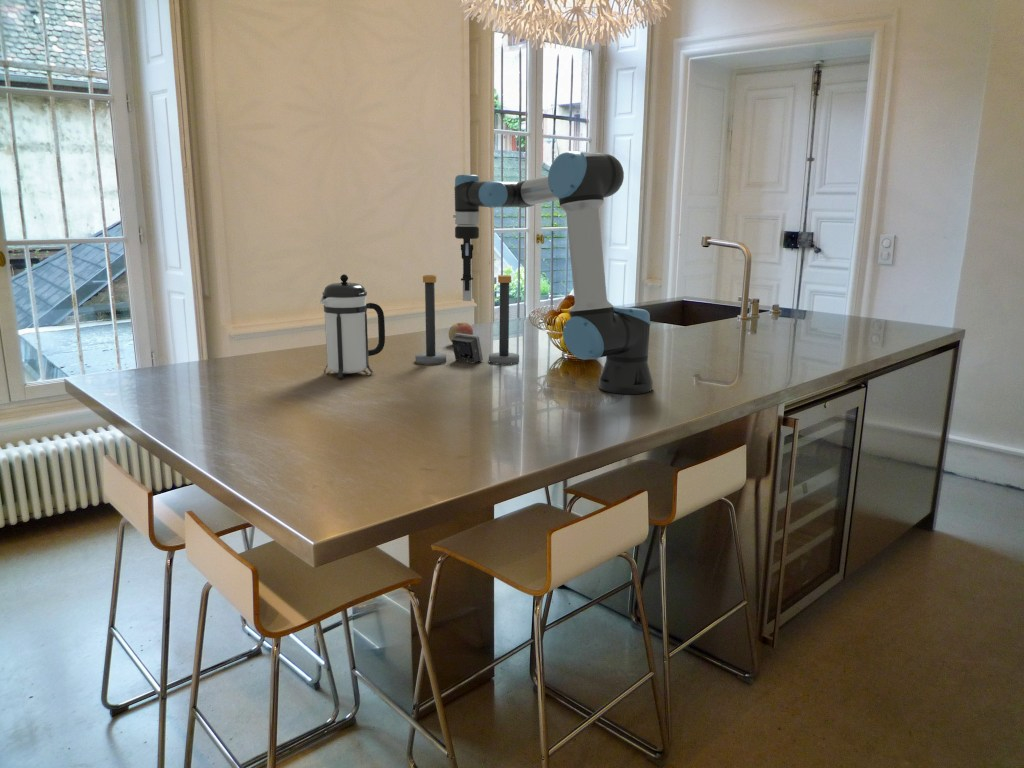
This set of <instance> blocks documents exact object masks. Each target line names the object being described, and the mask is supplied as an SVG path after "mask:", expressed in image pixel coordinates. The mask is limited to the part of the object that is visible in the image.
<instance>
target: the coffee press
mask: <svg viewBox="0 0 1024 768" xmlns="http://www.w3.org/2000/svg"><path fill="white" fill-rule="evenodd" d="M339 279H340V281H341V282H336V283H335V282H334V283H330V284H327V285H326V286H325V287H324V289H323V291H322V296H321V299H320V301H319V304H320V305H323V312H324V323H325V324H324V325H325V346H326V347H325V348H326V367H325V368H324V369H323V374H325V375H328V374H329V373H331V372H333V373H334V374H335V373H336V374H337V379H338V380H344V378H345V375H346V374H354V373H361V372H363V373H365V374H366V375H367V376H369V377H371V376H372V375H373V370H372V368H371V367H370V365H369V363H370V362H369V357H371V356H375V355H378V354H380V353H381V352H382V351H383V350H384V347H385V343H386V328H385V327H386V326H385V325H386V324H385V322H386V321H385V313H384V311H383V308H382V307H381V306H380V305H379V304H377V303H373V302H368V303H367V296H368V295H367V294H368V291H366V289H365V287H364V286H363V285H362V284H360V283H356V282H348V280H349V276H348V275H347V274H344V273H343V274H341V275H340V278H339ZM369 309H371V310H372V309H373V310H374V311H375V312H376V314H377V326H378V329H377V331H378V344H377V346H376V347H375V348H373V349H369V344H368V343H369V341H368V340H369V338H368V335H369V334H368V315H367V310H369ZM327 369H328V370H329V371H328V372H327ZM367 369H368V371H370V373H369V372H368V371H367Z"/></svg>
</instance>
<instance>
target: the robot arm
mask: <svg viewBox="0 0 1024 768" xmlns="http://www.w3.org/2000/svg"><path fill="white" fill-rule="evenodd" d="M624 175H625V173H624V169H623V165H622V164H621V161H620V160H619V159H617V157H616V156H613V155H612V154H609V153H604V152H589V151H581V150H573V151H564V152H562V153H560V154H559V155H558V156H556V157H555V158H554V160H553V161H552V164H551V165H550V167H549V170H548V175H544V176H540V177H536V178H531V179H525V180H522V181H496V180H488V181H487V180H486V181H484V180H483V181H480V177H479V176H478V175H477V174H458V175H456V176H455V178H454V189H453V190H454V213H455V214H453V216H452V217H453V218H455V219H454V224H455V225H456V226H455V227H454V238H456V239H460V240H461V239H462V240H463V241H462V242H463V243H461V244H460V251H461V259H462V269H463V271H462V278H460V281H462V302H472V281H473V280H474V278H473V277H472V259H473V251H474V244H471V242H472V241H471V240H472V239H473V240H475V239H479V237H480V228H479V226H478V225H480V209H479V207H481V208H483V207H484V208H508V207H509V208H511V207H512V208H528V207H529V208H530V207H531V208H532V207H533V206H535V205H537V204H543V203H544V204H545V203H548V202H554V201H558V202H559V208H560V209H562V211H564V213H565V215H566V225H567V226H566V227H567V234H568V246H569V247H568V248H569V254H570V256H569V257H570V265H571V267H570V268H571V276H572V287H573V296H574V304H573V306H572V307H571V308H570V310H569V312H570V313H569V314H570V315H569V317H570V318H569V319H568V320H567V321H566V322H565V323H564V324H565V325H564V326H563V329H562V330H563V331H562V338H563V341H564V344H565V346H566V348H567V350H568V351H569V352H570V353H571V354H572V355H573V356H574V357H575V358H577V359H580V360H584V361H585V360H598V359H599V358H604V357H606V358H605V363H604V365H603V369H602V370H601V374H600V376H599V378H598V387H599V389H600V390H602V391H604V392H606V393H607V392H608V393H613V394H618V395H619V394H620V395H621V394H622V395H639V394H641V393H642V394H647V393H650V392H651V390H653V389H654V387H653V386H654V380H653V377H652V373H651V369H650V366H649V362H648V361H649V359H648V358H649V345H650V330H651V329H650V327H651V317H650V316H651V314H650V312H649V311H648V310H646V309H642V308H636V307H628V306H619V305H613V304H612V303H611V302H610V301H609V300H608V296H607V286H606V285H607V284H606V275H605V262H604V254H603V253H604V252H603V241H602V232H601V221H600V208H601V206H602V205H603V204H604V202H605V201H604V198H608V197H611V196H613V195H615V194H616V193H617V192H618V191H619V190H620V189H621V187H622V185H623V183H624V179H625V176H624ZM649 391H650V392H649Z"/></svg>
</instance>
